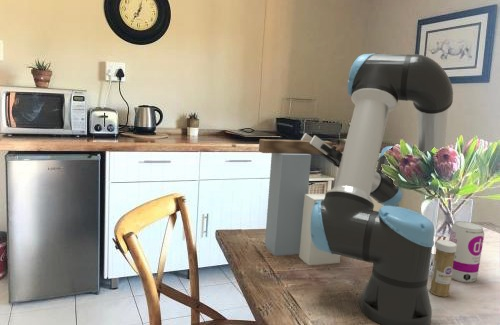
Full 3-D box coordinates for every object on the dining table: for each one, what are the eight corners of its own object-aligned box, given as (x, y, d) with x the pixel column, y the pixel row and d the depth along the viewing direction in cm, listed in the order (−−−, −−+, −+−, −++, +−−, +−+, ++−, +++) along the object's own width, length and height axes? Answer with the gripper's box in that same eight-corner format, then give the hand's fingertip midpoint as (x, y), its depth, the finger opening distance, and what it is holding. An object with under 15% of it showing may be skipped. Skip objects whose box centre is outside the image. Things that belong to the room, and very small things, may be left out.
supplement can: (483, 281, 116) (492, 229, 113) (461, 285, 112) (469, 230, 110) (459, 269, 123) (467, 219, 120) (437, 272, 120) (445, 221, 117)
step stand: (313, 243, 137) (322, 151, 132) (339, 262, 122) (350, 160, 117) (264, 246, 131) (271, 150, 126) (285, 267, 116) (294, 159, 111)
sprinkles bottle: (440, 298, 104) (448, 246, 102) (425, 290, 108) (432, 240, 106) (453, 295, 106) (461, 244, 104) (437, 287, 110) (444, 238, 108)
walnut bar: (326, 152, 130) (327, 140, 129) (331, 154, 126) (333, 142, 126) (258, 151, 123) (259, 139, 122) (262, 153, 119) (263, 140, 119)
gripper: (373, 193, 125) (315, 153, 116) (340, 180, 142) (288, 144, 133) (386, 172, 125) (329, 130, 116) (352, 161, 142) (301, 124, 134)
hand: (307, 138), depth 125 cm, fingers open, 5 cm apart
